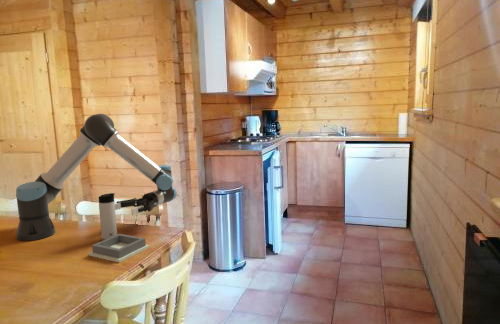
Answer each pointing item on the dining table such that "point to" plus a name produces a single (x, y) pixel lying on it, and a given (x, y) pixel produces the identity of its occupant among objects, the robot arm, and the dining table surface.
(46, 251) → the dining table surface
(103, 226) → the travel mug
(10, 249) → the dining table surface
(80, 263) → the dining table surface
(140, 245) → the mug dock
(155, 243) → the dining table surface
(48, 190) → the robot arm
